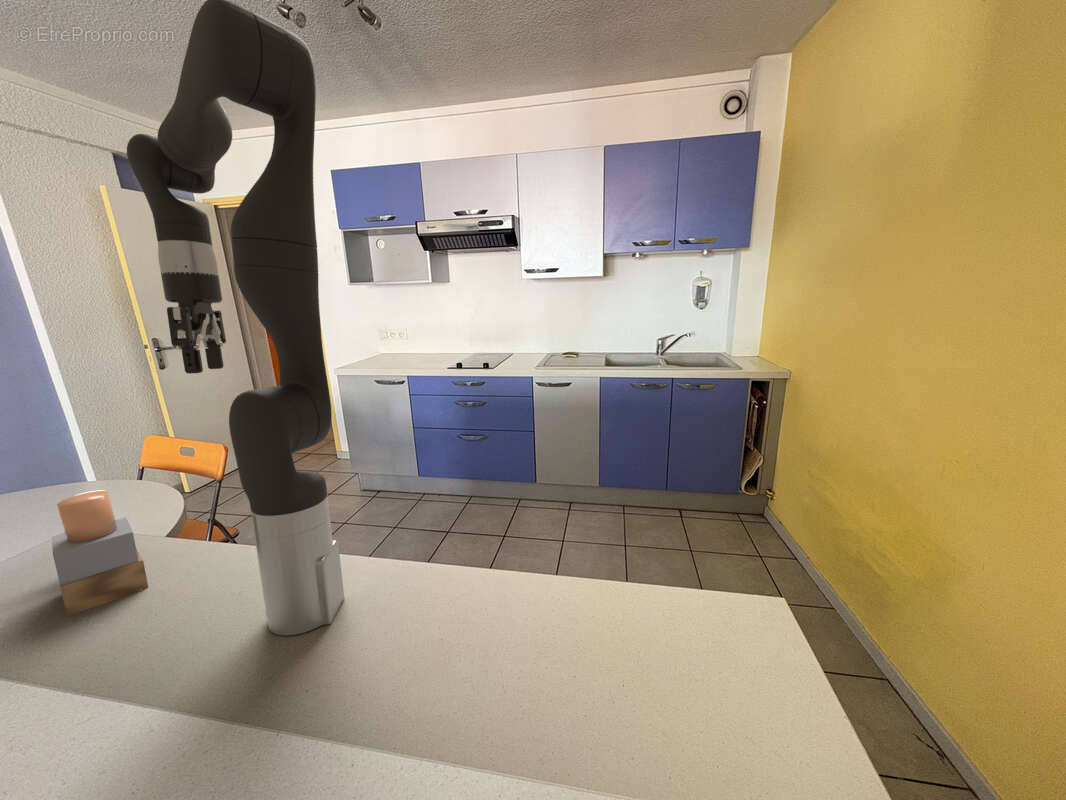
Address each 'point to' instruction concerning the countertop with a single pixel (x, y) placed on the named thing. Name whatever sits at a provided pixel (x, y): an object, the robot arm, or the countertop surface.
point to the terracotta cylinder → (87, 516)
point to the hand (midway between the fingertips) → (206, 370)
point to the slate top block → (94, 553)
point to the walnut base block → (104, 587)
